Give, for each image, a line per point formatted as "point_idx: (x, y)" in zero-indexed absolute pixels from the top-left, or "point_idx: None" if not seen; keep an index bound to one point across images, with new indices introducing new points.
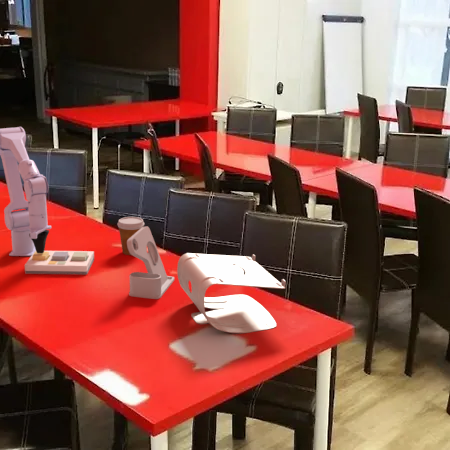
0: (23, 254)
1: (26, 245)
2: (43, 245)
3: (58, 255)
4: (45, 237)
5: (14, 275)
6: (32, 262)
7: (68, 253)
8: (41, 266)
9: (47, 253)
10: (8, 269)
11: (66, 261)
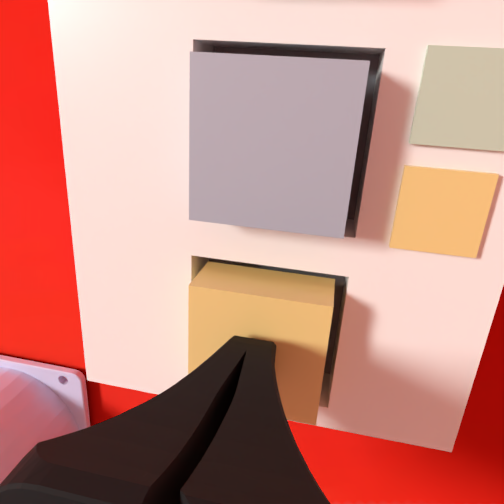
0: (79, 422)
1: (20, 450)
2: (279, 398)
3: (323, 163)
4: (281, 483)
5: (457, 457)
6: (389, 395)
7: (131, 67)
8: (488, 311)
9: (246, 293)
10: (327, 487)
11: (411, 44)
